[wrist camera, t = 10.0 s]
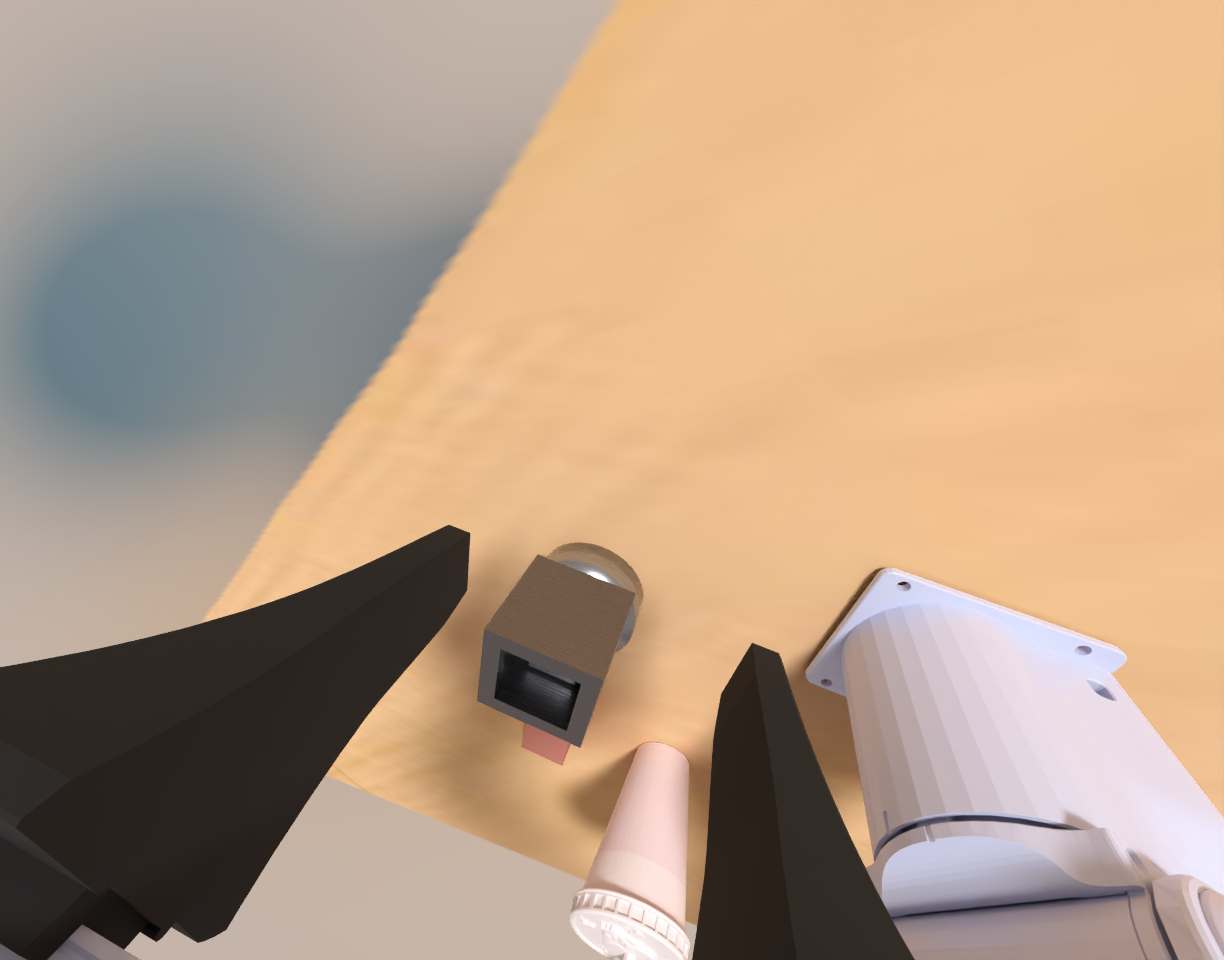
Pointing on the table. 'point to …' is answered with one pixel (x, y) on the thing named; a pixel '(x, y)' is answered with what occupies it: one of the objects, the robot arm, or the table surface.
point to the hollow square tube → (552, 648)
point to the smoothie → (641, 865)
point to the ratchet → (622, 575)
